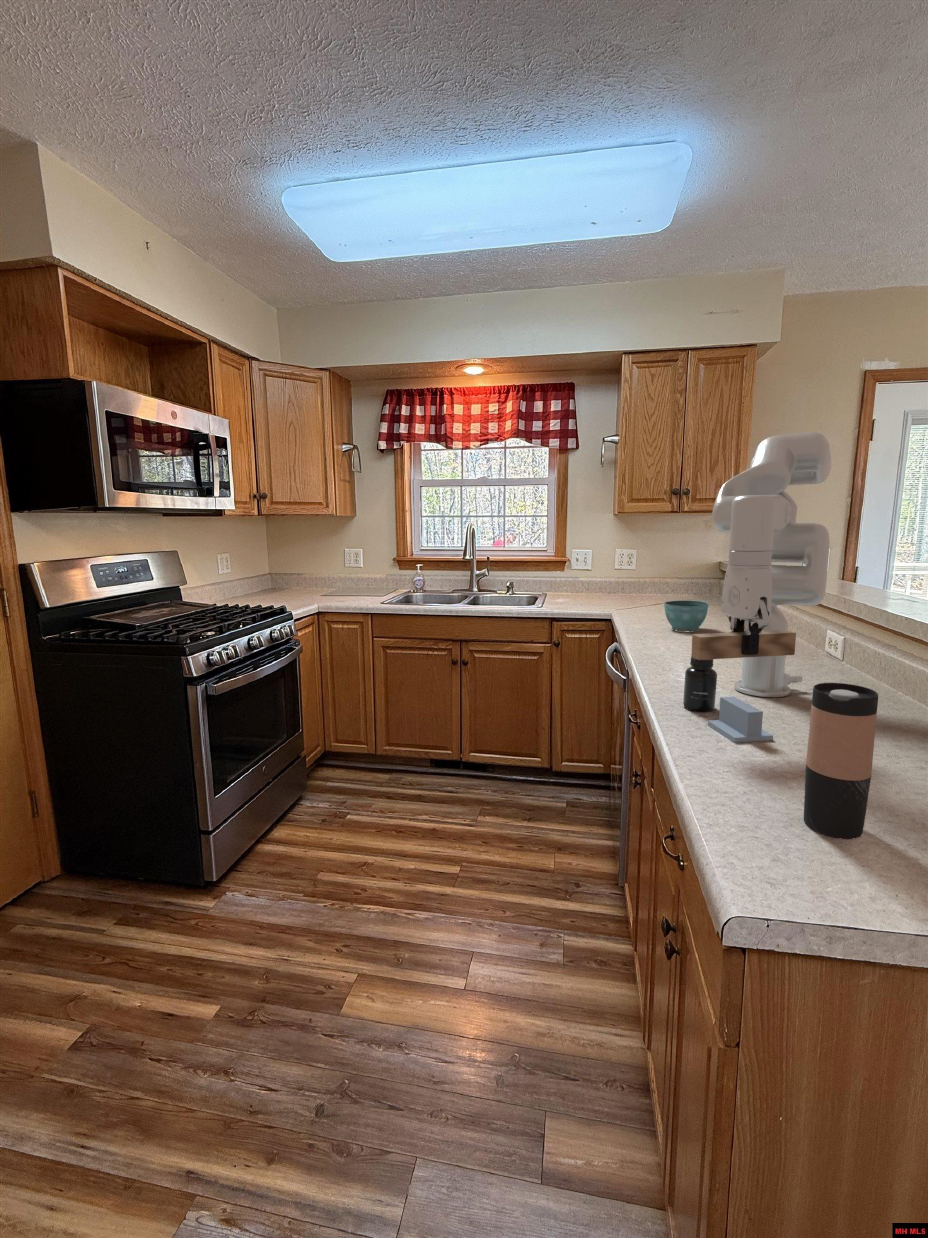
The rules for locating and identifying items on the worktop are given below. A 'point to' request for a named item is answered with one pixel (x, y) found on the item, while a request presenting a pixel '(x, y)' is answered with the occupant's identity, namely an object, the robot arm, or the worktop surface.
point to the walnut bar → (732, 645)
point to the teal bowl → (686, 614)
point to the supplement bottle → (700, 686)
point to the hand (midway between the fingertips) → (744, 651)
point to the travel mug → (839, 758)
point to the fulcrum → (739, 721)
